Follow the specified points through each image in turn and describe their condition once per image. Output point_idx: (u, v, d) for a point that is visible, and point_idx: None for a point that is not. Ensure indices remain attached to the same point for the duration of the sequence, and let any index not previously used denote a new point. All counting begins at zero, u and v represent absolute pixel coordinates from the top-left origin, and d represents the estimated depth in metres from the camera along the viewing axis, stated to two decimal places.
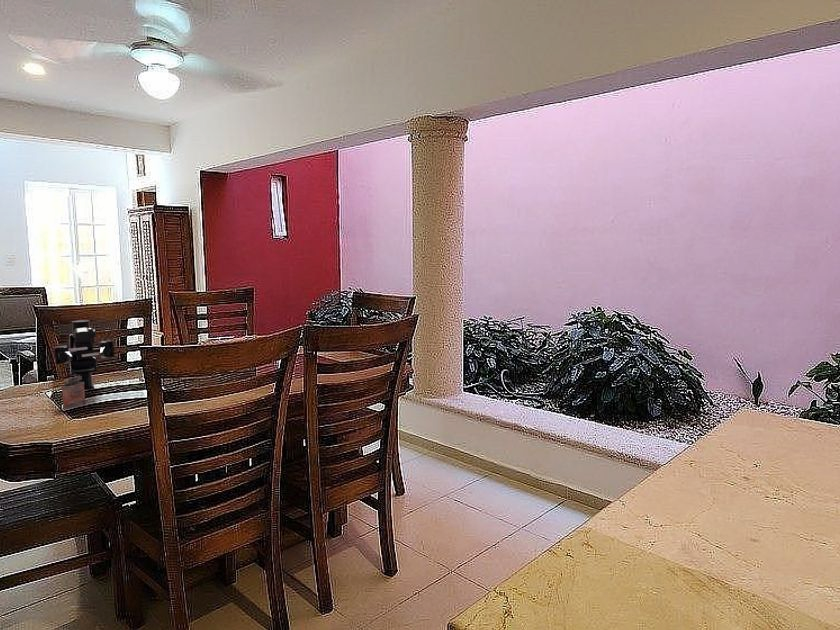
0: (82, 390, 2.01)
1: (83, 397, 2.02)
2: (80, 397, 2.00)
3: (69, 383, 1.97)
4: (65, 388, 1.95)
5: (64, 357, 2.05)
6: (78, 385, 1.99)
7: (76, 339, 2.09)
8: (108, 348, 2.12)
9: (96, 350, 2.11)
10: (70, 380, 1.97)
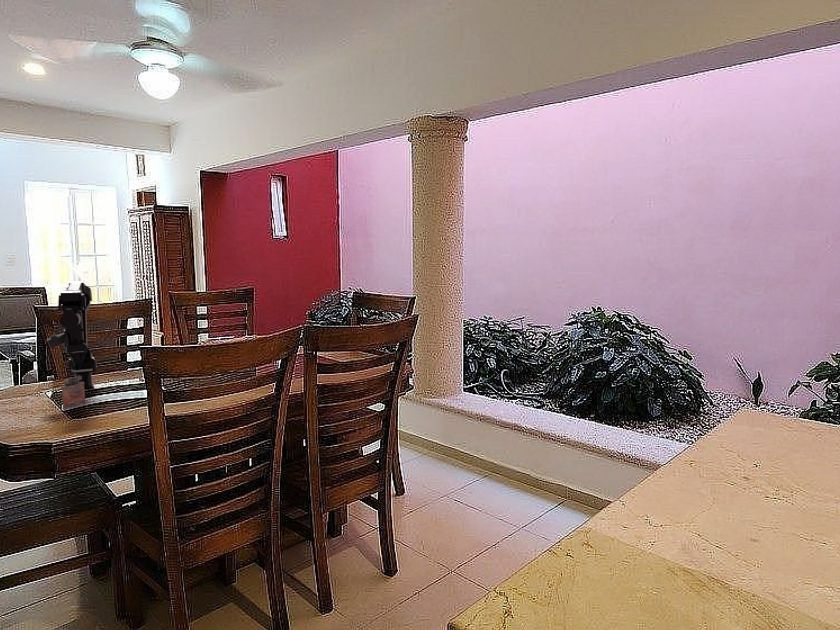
0: (82, 390, 2.01)
1: (83, 397, 2.02)
2: (80, 397, 2.00)
3: (69, 383, 1.97)
4: (65, 388, 1.95)
5: None
6: (78, 385, 1.99)
7: None
8: (75, 353, 2.01)
9: None
10: (70, 380, 1.97)
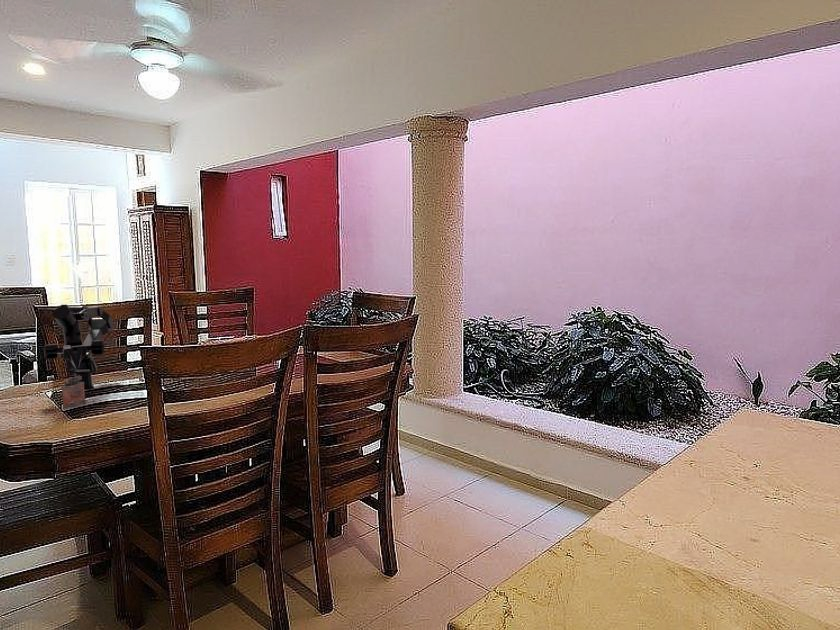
0: (82, 390, 2.01)
1: (83, 397, 2.02)
2: (80, 397, 2.00)
3: (69, 383, 1.97)
4: (65, 388, 1.95)
5: (81, 352, 2.11)
6: (78, 385, 1.99)
7: None
8: (65, 355, 2.08)
9: (76, 350, 2.11)
10: (70, 380, 1.97)
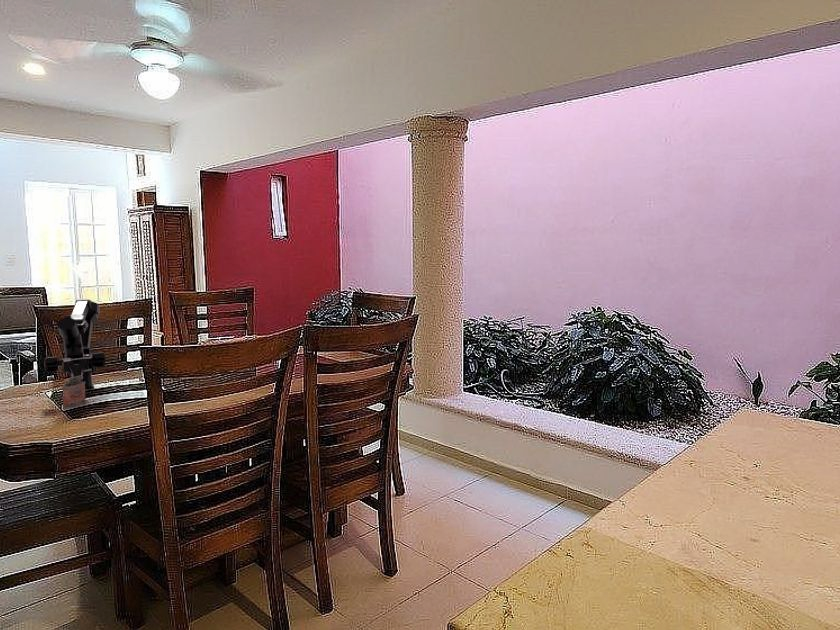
0: (83, 390, 2.01)
1: (83, 397, 2.02)
2: (81, 397, 2.00)
3: (70, 383, 1.97)
4: (66, 388, 1.95)
5: (83, 364, 2.06)
6: (79, 385, 1.99)
7: None
8: (64, 368, 2.03)
9: (76, 363, 2.06)
10: (71, 380, 1.97)
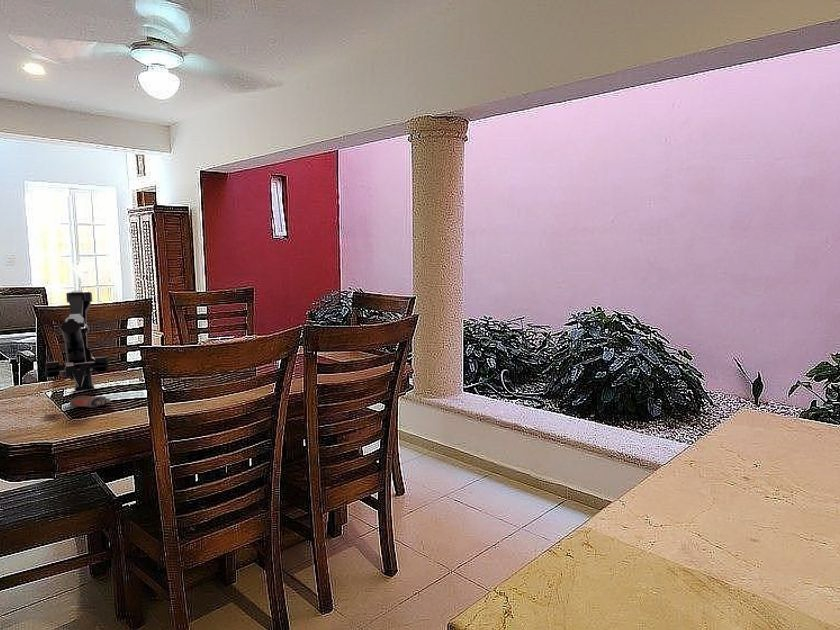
0: None
1: None
2: None
3: None
4: (88, 406, 1.94)
5: (84, 369, 2.00)
6: None
7: None
8: (67, 373, 1.98)
9: (79, 368, 2.00)
10: (99, 404, 1.96)
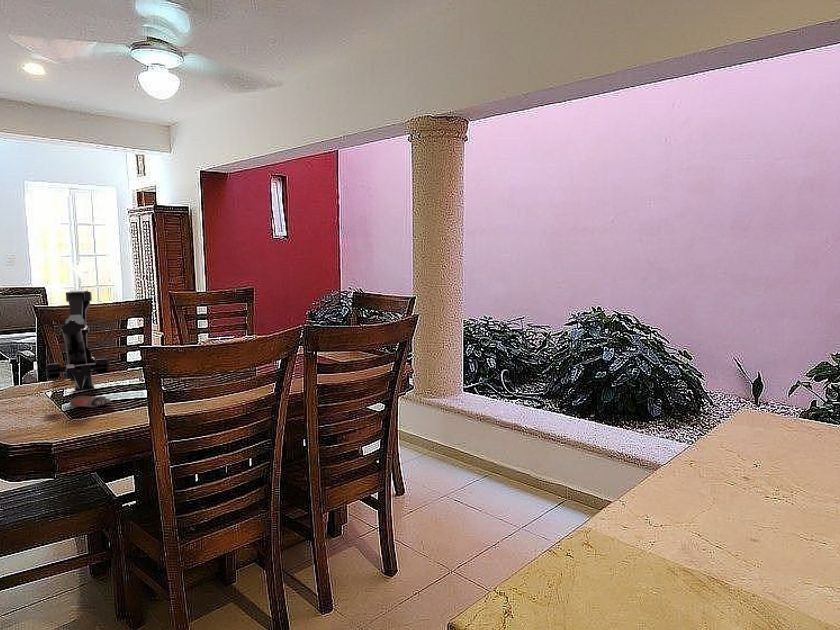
0: None
1: None
2: None
3: None
4: (88, 406, 1.94)
5: (85, 371, 1.99)
6: None
7: None
8: (68, 375, 1.97)
9: (80, 369, 2.00)
10: (99, 404, 1.96)
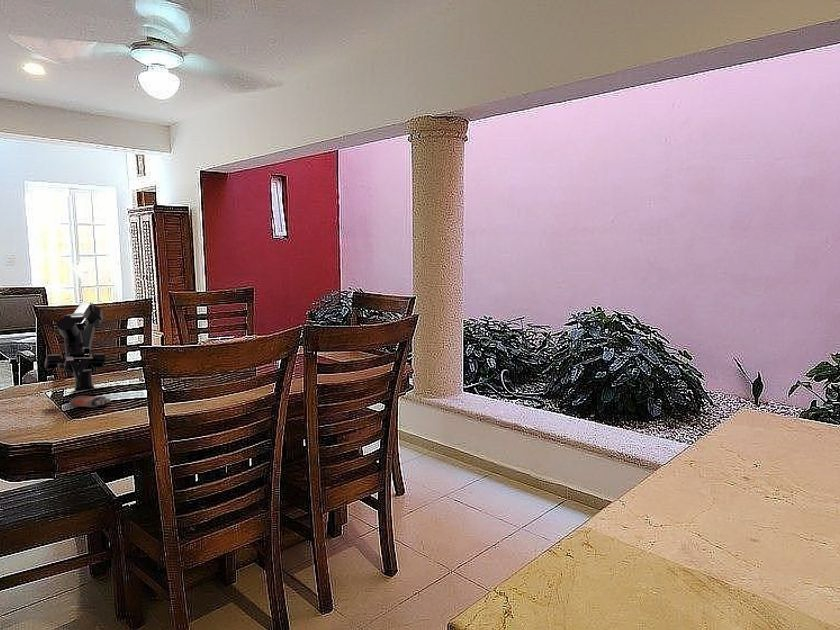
0: None
1: None
2: None
3: None
4: (88, 406, 1.94)
5: None
6: None
7: None
8: (66, 366, 2.06)
9: (78, 362, 2.09)
10: (99, 404, 1.96)
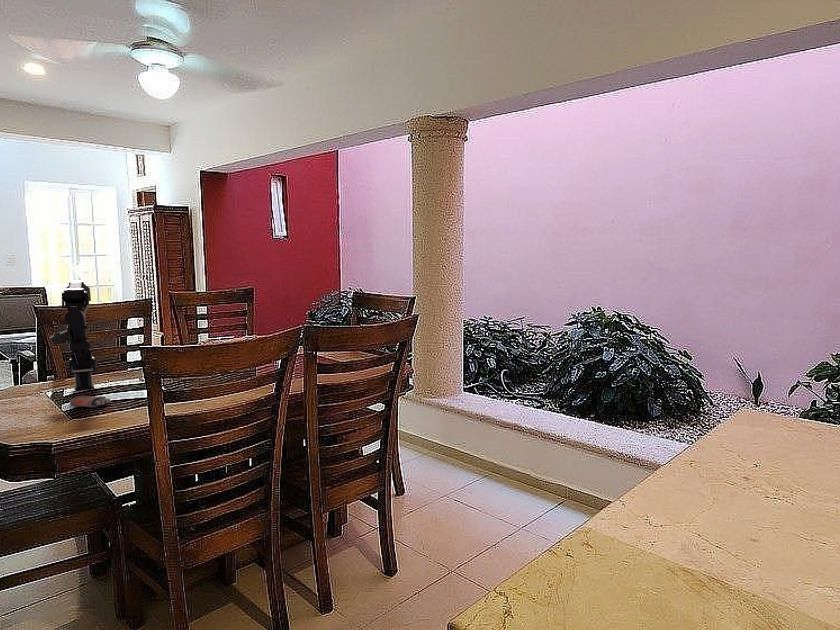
0: None
1: None
2: None
3: None
4: (88, 406, 1.94)
5: None
6: None
7: None
8: (77, 349, 2.05)
9: None
10: (99, 404, 1.96)
